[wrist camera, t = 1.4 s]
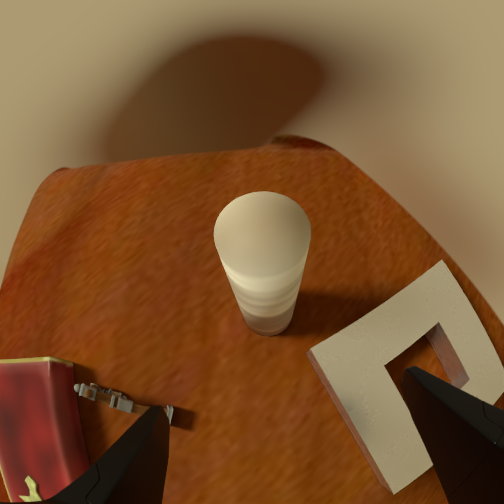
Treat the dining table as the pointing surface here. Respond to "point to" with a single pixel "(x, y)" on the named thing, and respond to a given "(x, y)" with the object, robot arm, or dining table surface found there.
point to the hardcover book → (39, 428)
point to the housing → (387, 348)
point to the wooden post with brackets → (115, 399)
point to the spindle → (264, 256)
